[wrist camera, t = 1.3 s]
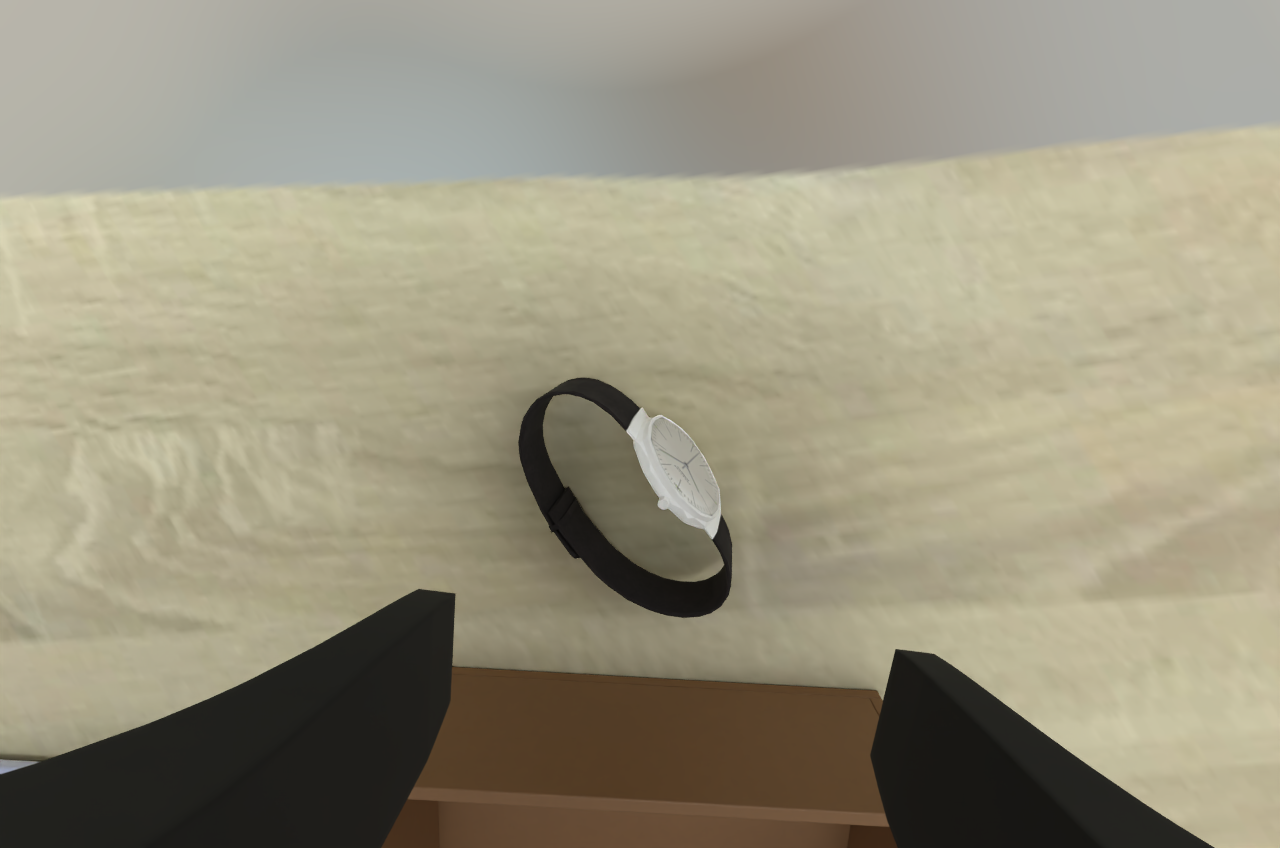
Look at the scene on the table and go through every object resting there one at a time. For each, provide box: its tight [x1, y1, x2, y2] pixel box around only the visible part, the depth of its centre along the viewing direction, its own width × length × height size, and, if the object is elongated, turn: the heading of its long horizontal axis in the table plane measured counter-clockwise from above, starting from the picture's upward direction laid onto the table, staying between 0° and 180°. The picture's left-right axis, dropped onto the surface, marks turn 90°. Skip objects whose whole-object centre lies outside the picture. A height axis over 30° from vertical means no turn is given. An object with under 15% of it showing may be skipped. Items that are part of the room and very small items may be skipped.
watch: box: [518, 378, 732, 618], centre depth 17 cm, size 8×5×4 cm, turn 38°
